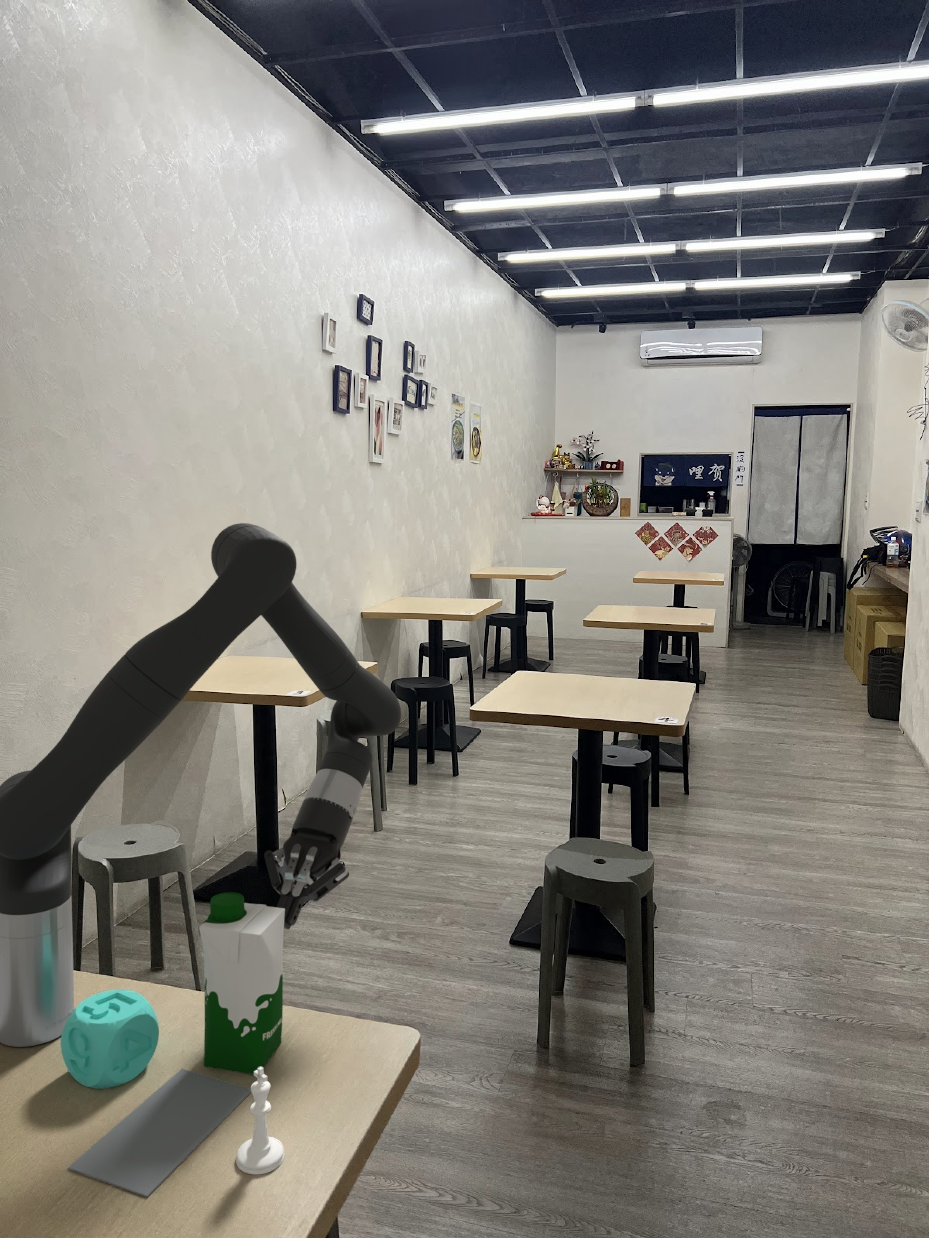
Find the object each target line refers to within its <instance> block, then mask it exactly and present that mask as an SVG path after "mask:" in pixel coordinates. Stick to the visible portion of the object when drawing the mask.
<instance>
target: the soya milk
mask: <svg viewBox="0 0 929 1238" xmlns="http://www.w3.org/2000/svg"><path fill="white" fill-rule="evenodd" d="M209 905H210V907H209V908H210V909H209V910H210V911H209V912H210V913H209V914H208V916H207V918H206V919H205V920H204V921H203V923H202V924H201V925H200V926H199V928H198V929H199V935H200V939H201V944H202V948H203V956H204V957H203V961H204V965H203V966H204V967H203V968H204V975H203V976H204V979H203V980H204V982H203V983H204V1036H203V1037H204V1039H203V1041H204V1044H203V1045H204V1047H203V1050H204V1051H203V1067H204V1068H207V1069H208V1068H210V1069H216V1070H221V1071H222V1070H223V1071H227V1072H234V1073H241V1074H248V1075H253V1076H254V1071H256V1070H258V1068H259V1067H263V1068H264V1069H265V1066H266V1065H267V1064H268V1062H269V1061H270V1059H271V1058H272V1056H273V1055H274V1053H276V1051H277V1050H278V1048H279V1046H280V1045H281V1044H282V1036H283V1035H282V1034H283V1033H282V1032H283V1009H284V1008H283V1006H284V1005H283V1003H284V1002H283V1001H284V999H283V997H284V996H283V991H284V990H283V987H284V986H283V984H284V983H283V982H284V979H283V975H284V973H283V970H284V967H283V965H284V963H283V961H284V957H283V956H284V953H283V952H284V951H283V950H284V934H285V933H284V931H285V929H284V915H285V908H277V906H276V907H275V906H267V904H260V903H258V904H257V903H248V902H245V897H244V895H243V894H241V893H238V892H229V891H228V892H221V893H219V894H218V893H217V894H216V895H213V896H212V897H211V898H210V903H209Z"/></svg>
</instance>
